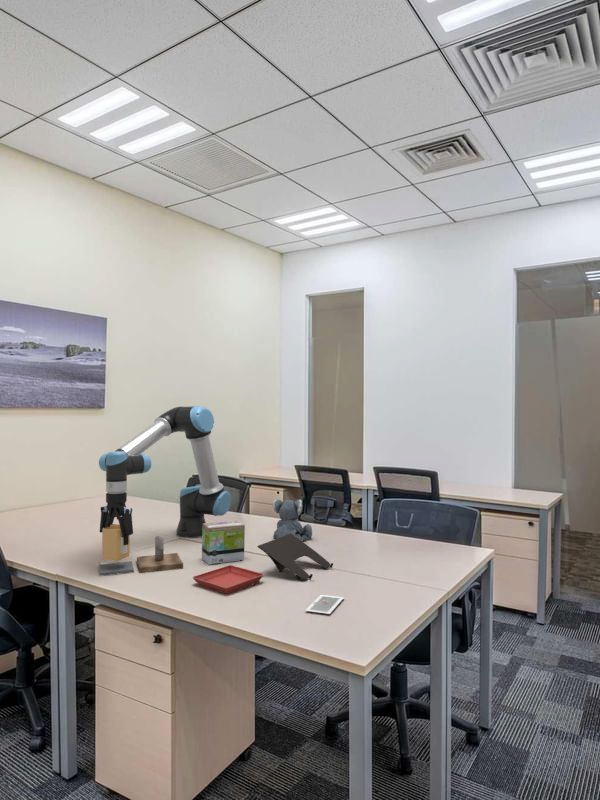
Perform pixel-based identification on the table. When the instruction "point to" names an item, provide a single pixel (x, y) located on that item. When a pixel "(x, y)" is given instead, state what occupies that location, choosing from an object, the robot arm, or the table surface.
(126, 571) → the pad
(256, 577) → the plant saucer
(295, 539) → the portable electronic device stand
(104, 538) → the tan tall block
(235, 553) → the tea box
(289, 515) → the koala plush
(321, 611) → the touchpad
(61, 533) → the table surface
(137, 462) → the robot arm
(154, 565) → the wooden base with post
